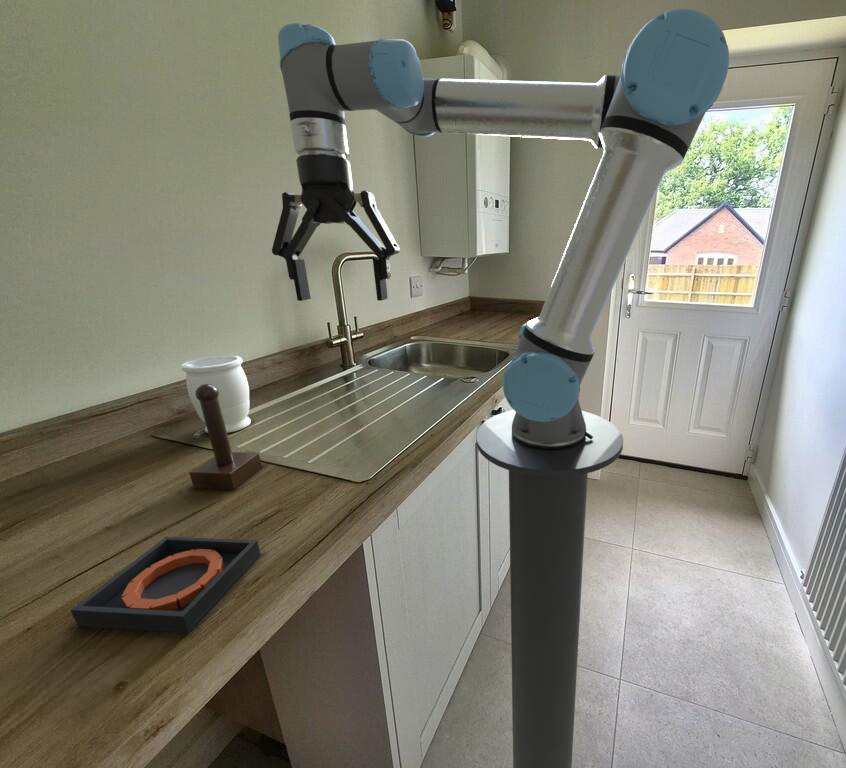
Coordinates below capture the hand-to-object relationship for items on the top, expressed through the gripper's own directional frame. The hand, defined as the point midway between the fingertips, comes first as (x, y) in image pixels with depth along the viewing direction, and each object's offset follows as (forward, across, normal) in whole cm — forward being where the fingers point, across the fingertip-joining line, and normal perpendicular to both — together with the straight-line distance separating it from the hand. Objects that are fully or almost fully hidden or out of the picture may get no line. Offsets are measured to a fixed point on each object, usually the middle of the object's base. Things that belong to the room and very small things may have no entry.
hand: (343, 299), depth 68 cm
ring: (+28, -8, -33) cm, 44 cm away
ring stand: (+29, -20, -10) cm, 36 cm away
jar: (+29, -35, +10) cm, 46 cm away
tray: (+29, -8, -33) cm, 44 cm away
